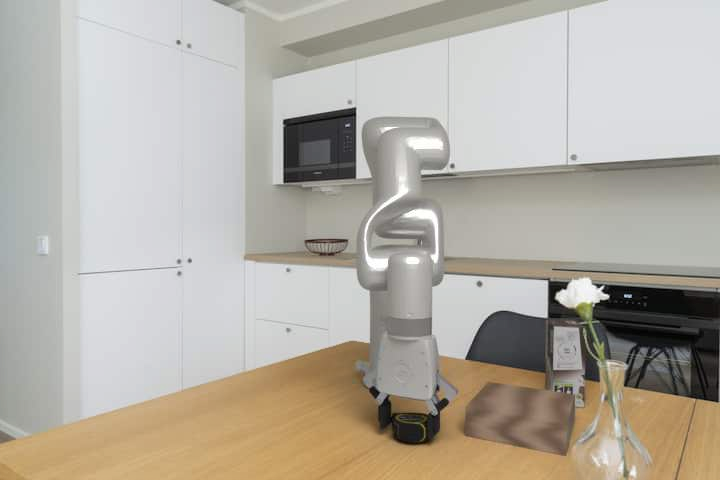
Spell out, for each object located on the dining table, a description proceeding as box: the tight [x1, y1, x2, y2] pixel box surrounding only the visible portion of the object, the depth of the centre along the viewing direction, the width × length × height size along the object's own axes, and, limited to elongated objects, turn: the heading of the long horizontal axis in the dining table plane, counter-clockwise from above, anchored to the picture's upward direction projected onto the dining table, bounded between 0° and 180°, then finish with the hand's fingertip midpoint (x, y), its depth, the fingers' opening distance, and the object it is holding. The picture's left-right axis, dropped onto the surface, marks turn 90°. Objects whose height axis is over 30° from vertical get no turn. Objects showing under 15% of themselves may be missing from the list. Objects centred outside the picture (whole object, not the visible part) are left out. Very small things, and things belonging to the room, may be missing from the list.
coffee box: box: [544, 318, 587, 408], centre depth 105 cm, size 9×6×16 cm
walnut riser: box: [464, 381, 576, 457], centre depth 89 cm, size 16×16×5 cm
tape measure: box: [390, 412, 429, 443], centre depth 85 cm, size 7×7×4 cm
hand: (408, 430), depth 84 cm, fingers closed on tape measure, 7 cm apart
